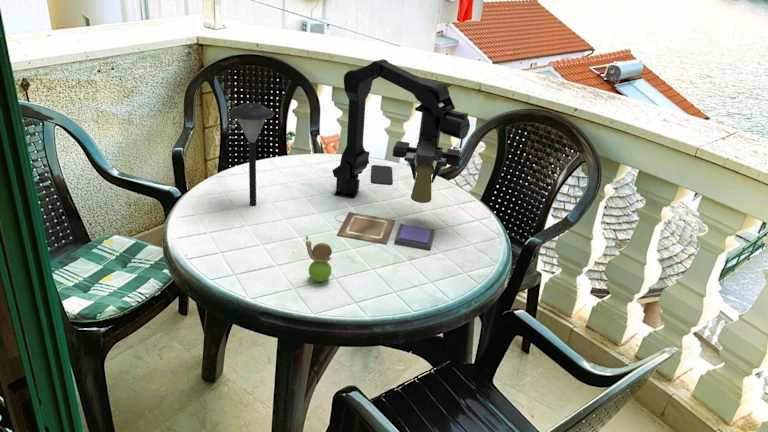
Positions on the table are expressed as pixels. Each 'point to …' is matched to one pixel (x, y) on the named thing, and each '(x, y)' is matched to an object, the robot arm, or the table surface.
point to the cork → (422, 183)
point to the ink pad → (414, 236)
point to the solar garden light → (251, 135)
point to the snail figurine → (319, 261)
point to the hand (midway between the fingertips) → (423, 181)
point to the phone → (381, 175)
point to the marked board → (366, 228)
